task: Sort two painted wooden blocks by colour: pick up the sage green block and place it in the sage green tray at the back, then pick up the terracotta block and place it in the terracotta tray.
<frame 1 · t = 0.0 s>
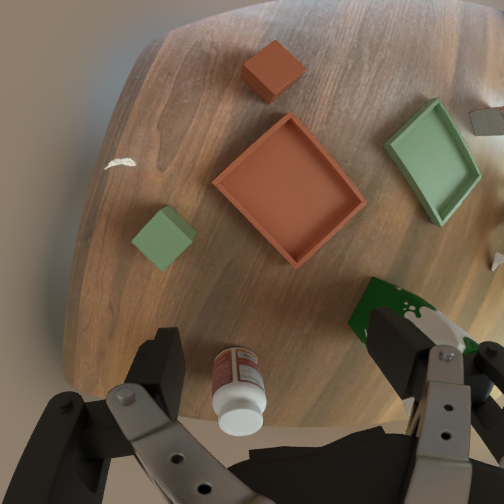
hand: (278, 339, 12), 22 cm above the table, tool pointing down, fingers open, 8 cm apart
sage block: (169, 232, 33), on the table
small milk carton: (483, 121, 32), on the table
terracotta block: (269, 78, 29), on the table
terracotta tray: (290, 190, 32), on the table
pill bottle: (236, 363, 38), on the table
sage tray: (434, 160, 33), on the table
soya milk: (378, 307, 38), on the table
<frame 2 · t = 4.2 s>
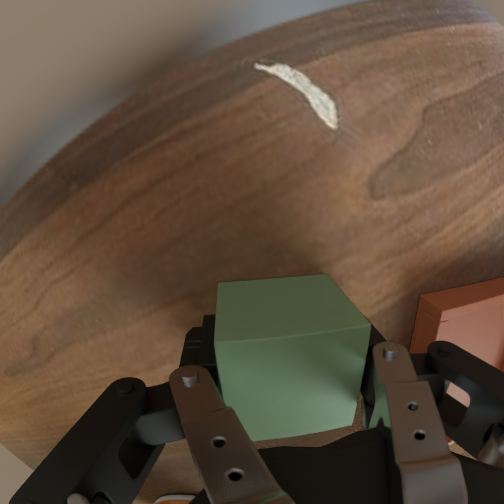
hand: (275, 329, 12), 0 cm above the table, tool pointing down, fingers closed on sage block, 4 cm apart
sage block: (274, 325, 13), on the table, touching gripper
terracotta tray: (461, 370, 15), on the table
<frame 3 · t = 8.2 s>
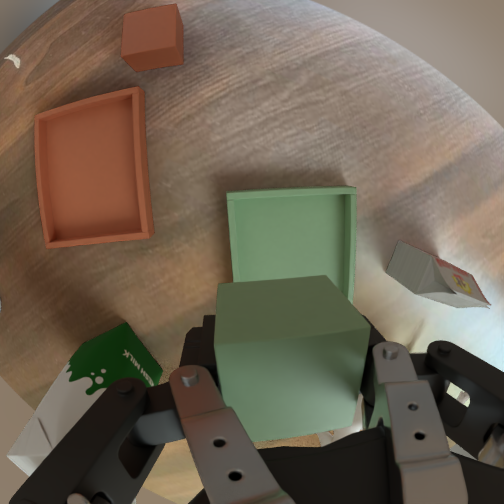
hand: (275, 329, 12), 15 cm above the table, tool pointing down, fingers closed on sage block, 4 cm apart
sage block: (274, 326, 13), point 15 cm above the table, touching gripper
small milk carton: (413, 264, 29), on the table
terracotta block: (159, 47, 21), on the table
terracotta tray: (92, 170, 24), on the table
person figurine: (365, 384, 33), on the table
sage tray: (292, 258, 28), on the table
soya milk: (121, 356, 30), on the table
when the fingers open (1 cm above the table, at t = 12.2 s): sage block stays where it is, resting on sage tray.
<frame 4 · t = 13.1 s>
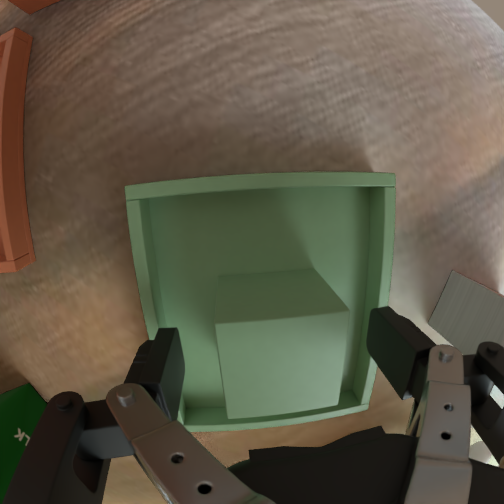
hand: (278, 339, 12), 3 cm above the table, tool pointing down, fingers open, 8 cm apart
sage block: (268, 315, 14), resting on sage tray
small milk carton: (466, 306, 16), on the table
person figurine: (375, 462, 20), on the table
sage tray: (267, 309, 15), on the table
soya milk: (37, 420, 16), on the table
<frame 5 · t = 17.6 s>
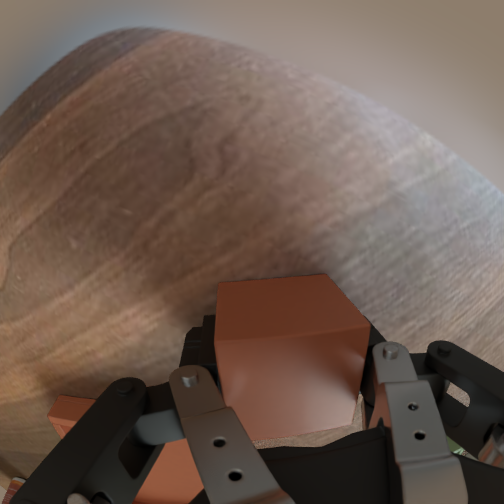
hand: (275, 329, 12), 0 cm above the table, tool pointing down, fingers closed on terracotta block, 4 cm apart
terracotta block: (274, 325, 13), on the table, touching gripper
terracotta tray: (170, 467, 15), on the table
pill bottle: (36, 490, 17), on the table
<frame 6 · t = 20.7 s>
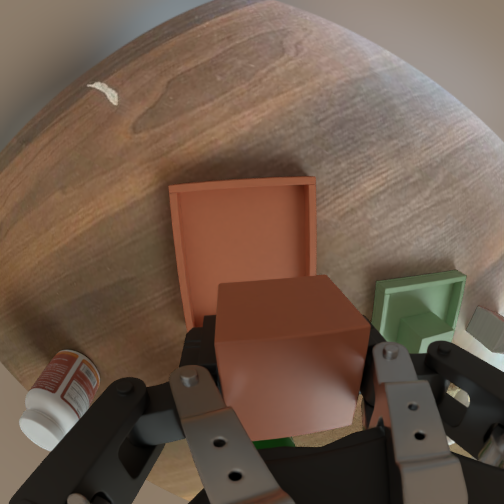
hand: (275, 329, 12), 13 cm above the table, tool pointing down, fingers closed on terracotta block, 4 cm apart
sage block: (413, 332, 29), resting on sage tray
small milk carton: (482, 321, 31), on the table
terracotta block: (274, 326, 13), point 13 cm above the table, touching gripper
terracotta tray: (246, 257, 25), on the table
pill bottle: (78, 368, 28), on the table
sage tray: (411, 329, 29), on the table
soya milk: (248, 419, 31), on the table
when the fingers open (1 cm above the table, at t = 23.9 s): terracotta block stays where it is, resting on terracotta tray.
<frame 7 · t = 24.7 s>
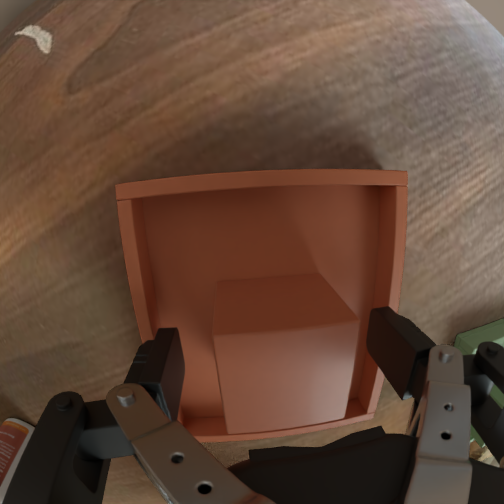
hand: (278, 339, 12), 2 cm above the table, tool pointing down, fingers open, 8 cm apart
sage block: (481, 389, 17), resting on sage tray
terracotta block: (270, 323, 13), resting on terracotta tray
terracotta tray: (270, 316, 14), on the table
pill bottle: (35, 439, 16), on the table
sage tray: (478, 385, 17), on the table
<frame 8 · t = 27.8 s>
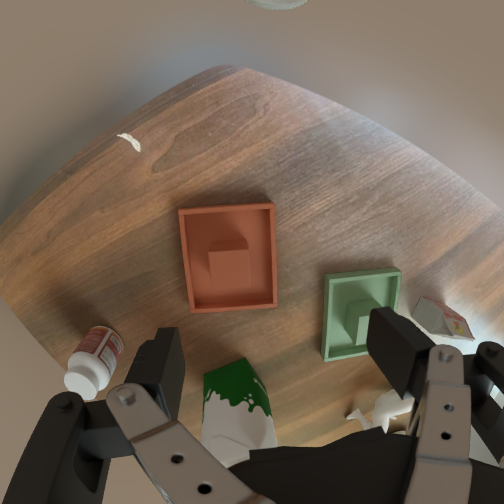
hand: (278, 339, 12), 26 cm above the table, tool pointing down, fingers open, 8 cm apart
sage block: (359, 314, 41), resting on sage tray
small milk carton: (428, 310, 43), on the table
terracotta block: (229, 258, 37), resting on terracotta tray
terracotta tray: (229, 256, 38), on the table
person figurine: (390, 385, 47), on the table
pill bottle: (106, 341, 40), on the table
sage tray: (358, 312, 41), on the table
soya milk: (234, 380, 43), on the table
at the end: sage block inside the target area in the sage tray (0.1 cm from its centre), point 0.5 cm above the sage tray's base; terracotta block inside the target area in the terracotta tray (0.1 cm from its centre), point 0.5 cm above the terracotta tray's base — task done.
